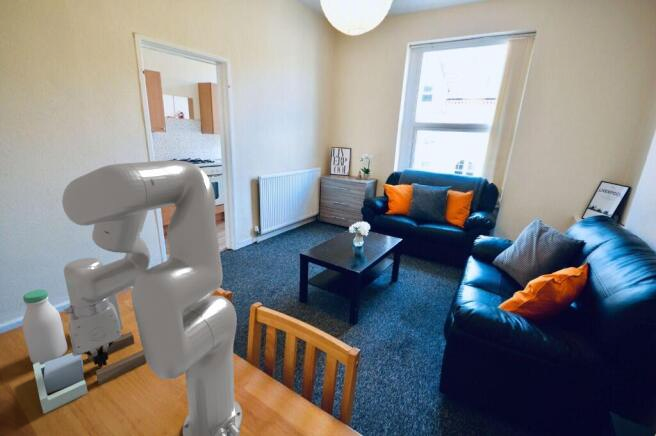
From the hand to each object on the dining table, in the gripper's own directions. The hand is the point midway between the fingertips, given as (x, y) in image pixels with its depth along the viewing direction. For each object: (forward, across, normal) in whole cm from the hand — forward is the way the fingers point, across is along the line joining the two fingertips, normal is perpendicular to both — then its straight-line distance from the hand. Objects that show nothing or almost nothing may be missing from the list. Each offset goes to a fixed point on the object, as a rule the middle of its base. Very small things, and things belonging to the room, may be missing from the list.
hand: (101, 363), depth 80 cm
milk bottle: (+1, -9, +15) cm, 18 cm away
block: (+1, -7, +2) cm, 8 cm away
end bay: (+1, -8, 0) cm, 8 cm away
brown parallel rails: (+1, +4, 0) cm, 4 cm away
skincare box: (+1, +6, +19) cm, 20 cm away
